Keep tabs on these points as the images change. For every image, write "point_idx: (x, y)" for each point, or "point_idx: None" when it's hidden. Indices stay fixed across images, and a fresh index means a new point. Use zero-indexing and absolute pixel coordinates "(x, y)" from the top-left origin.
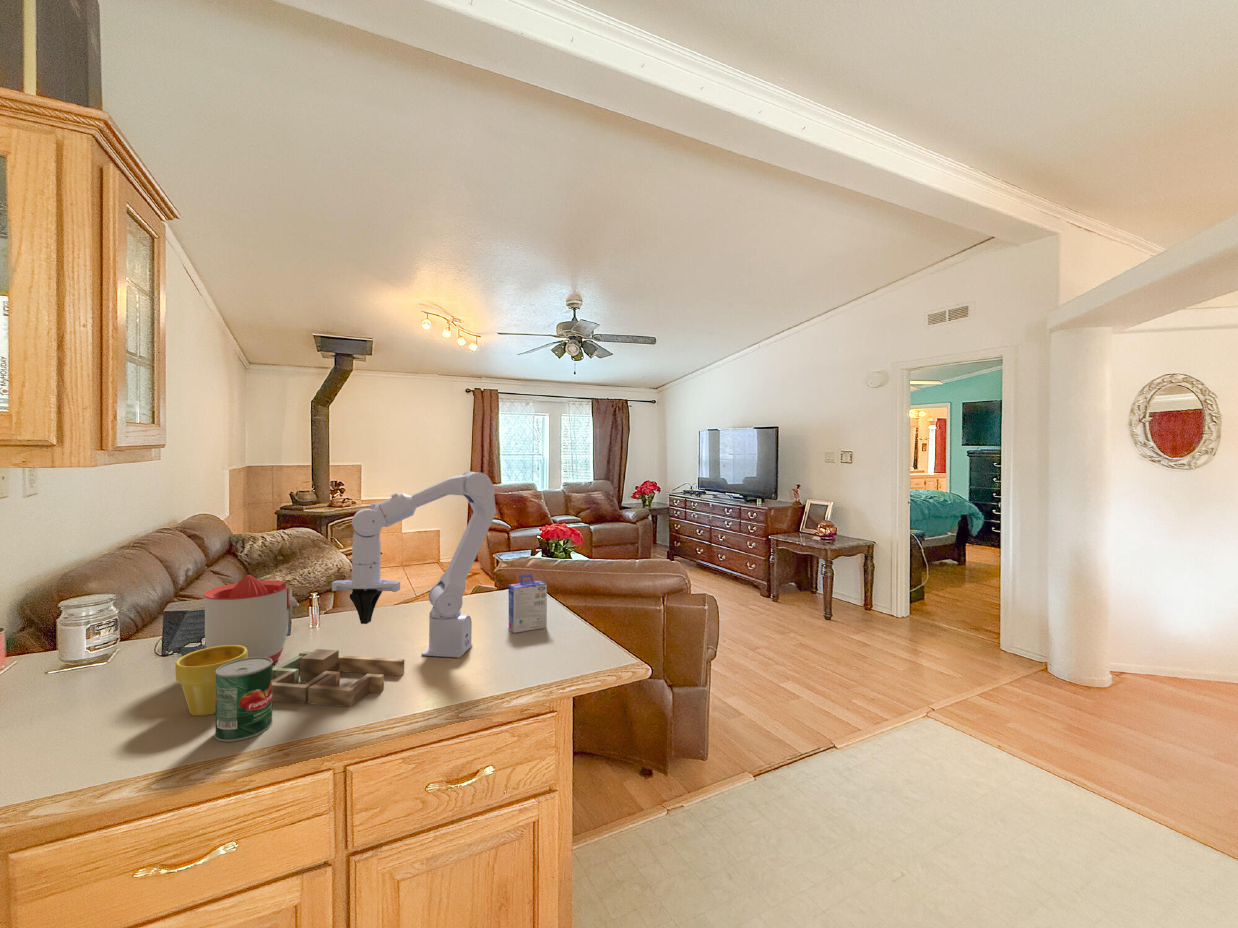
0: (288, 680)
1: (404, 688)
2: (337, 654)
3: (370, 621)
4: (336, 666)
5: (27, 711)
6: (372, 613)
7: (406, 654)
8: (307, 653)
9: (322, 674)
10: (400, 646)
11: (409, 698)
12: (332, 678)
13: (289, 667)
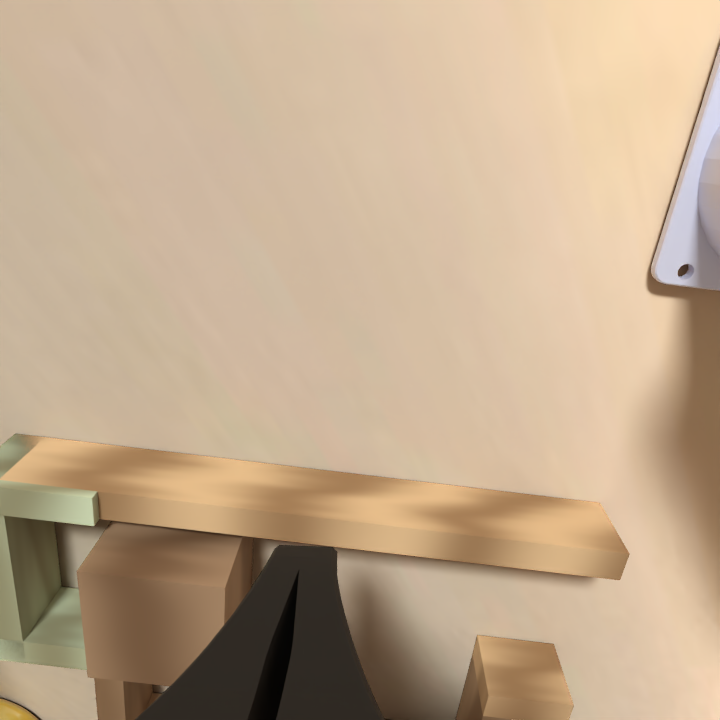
0: None
1: (643, 636)
2: (229, 579)
3: (336, 558)
4: (246, 540)
5: None
6: (341, 601)
7: (535, 250)
8: (14, 513)
9: None
10: (439, 90)
11: (684, 703)
12: None
13: (30, 580)
